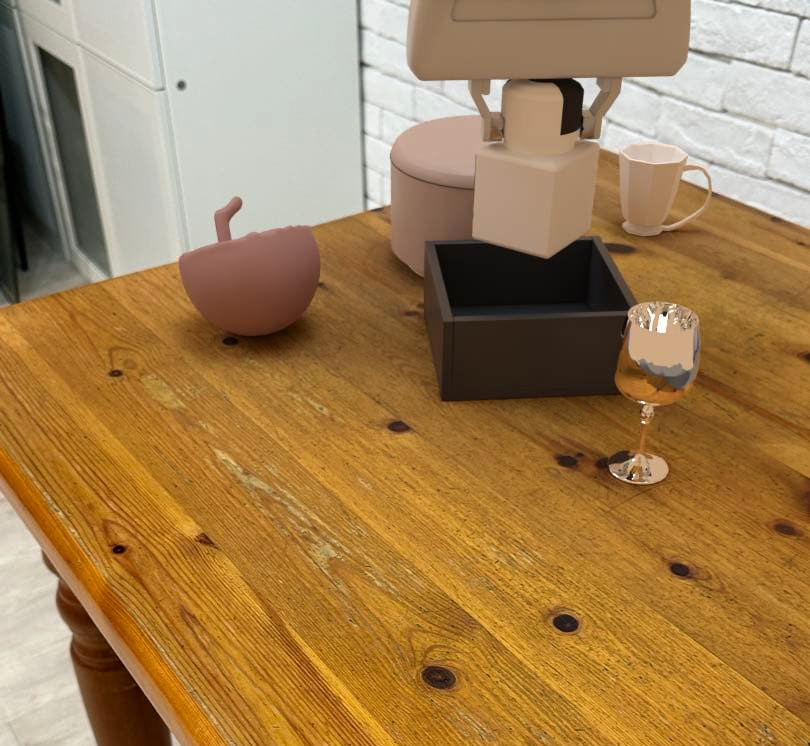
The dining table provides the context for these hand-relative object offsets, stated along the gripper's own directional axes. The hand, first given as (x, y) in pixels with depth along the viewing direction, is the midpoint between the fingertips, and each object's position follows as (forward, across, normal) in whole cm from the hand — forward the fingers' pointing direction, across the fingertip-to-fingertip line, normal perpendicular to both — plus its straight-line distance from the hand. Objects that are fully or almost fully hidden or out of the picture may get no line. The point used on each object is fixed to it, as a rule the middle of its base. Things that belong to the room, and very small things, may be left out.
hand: (539, 138), depth 79 cm
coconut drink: (+18, +23, -6) cm, 30 cm away
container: (+18, +1, -20) cm, 27 cm away
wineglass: (+18, -6, +18) cm, 26 cm away
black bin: (+18, 0, 0) cm, 18 cm away
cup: (+18, -19, -26) cm, 37 cm away
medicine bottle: (+8, 0, 0) cm, 8 cm away
